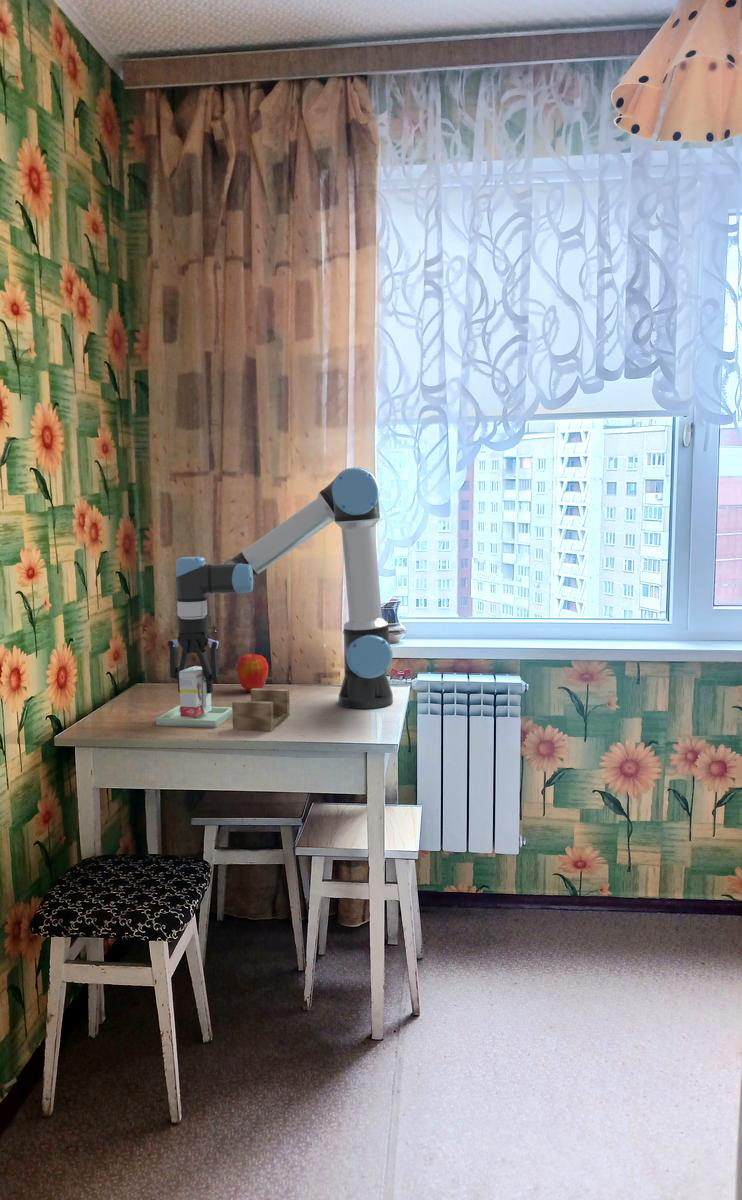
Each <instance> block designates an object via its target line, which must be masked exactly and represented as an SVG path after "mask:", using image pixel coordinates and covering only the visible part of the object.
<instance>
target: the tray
mask: <svg viewBox="0 0 742 1200" xmlns="http://www.w3.org/2000/svg"><path fill="white" fill-rule="evenodd" d="M211 708H212V710H211V711H209V712H207V713H205V714H203V715H201V716H199V717H197V718H196V717H181V716H180V704H179V705H177V706H175V707H173V708H172V709H169V710H168V711H167V712H165V713H163V714H162V715H159V716H158V717H156V718H155V720H156V721H155V722H156V723H155V724H156V726H166V727H186V728H187V727H188V728H190V727H191V728H209V729H211V728H212V729H213V728H214V729H216V728H217V727H219V726H221V724H222V725H223V723H224V722H226V721H227V720H229V719H230V718H233V714H232V706H231V707H228V706H211Z"/></svg>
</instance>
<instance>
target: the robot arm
mask: <svg viewBox="0 0 742 1200" xmlns="http://www.w3.org/2000/svg"><path fill="white" fill-rule="evenodd" d="M380 491H381V490H380V484H379V482H378V480H377V478H376V476H374V475H373V473H372V472H371V471H369V470H367V469H365V468H363V467H356V466H355V467H354V466H353V467H349V468H346V469H343V470H341V472H339V473H338V475H336V477H335V478H333V480H332V481H331V482H330V483H329V484H328V485H327V486H325V487H324V488H323V489H322V490H320V491H318V494H317V498H316V499H314V500H312V501H311V502H310V503H309V504H307V505H306V506H304V507H303V508H302V509H300V510H298V511H297V512H296V513H294V514H292V515H291V516H290V517H289V518H287V519H285V520H284V521H283V522H281V523H280V524H278V525H277V526H276V527H274V528H273V529H271V531H269V532H268V533H266V534H265V535H263V536H262V537H260V538H259V539H258V540H255V542H253V543H252V544H250V545H249V546H247V547H246V548H245V549H244V550H241V552H239V553H238V554H236V555H235V556H233V557H232V558H231V559H228V560H226V562H224V563H222V564H221V563H220V564H207V562H206V558H205V557H203V556H183V557H179V558H177V560H176V562H175V569H176V570H175V573H176V575H175V581H176V582H175V584H176V600H177V601H176V602H177V604H176V605H177V607H176V609H177V616H178V617H179V618H178V619H177V631H178V635H177V638H175V639H170V640H168V641H167V646H168V649H169V674H170V675H169V676H170V678H171V679H175V680H177V690H178V693H179V694H180V685H179V672H180V671H182V670H185V669H187V668H188V665H189V661H190V656H191V653H194V654H196V656H197V658H198V660H199V662H200V663H199V664H200V666H201V667H202V670H203V673H204V677H205V681H204V682H203V704H204V707H207V706H208V705H210V693H211V694H212V693H213V692H214V683H213V681H214V680H217V679H218V678H220V676H221V675H220V660H219V647H220V641H221V640H218V639H217V640H214V639H211V637H210V635H209V633H208V632H209V623H208V622H209V621H208V617H207V615H208V601H207V599H208V598H207V597H208V596H207V594H208V595H209V594H210V595H212V594H239V595H240V594H245V593H251V592H252V591H253V589H254V578H255V577H256V576H258V575H259V574H261V573H262V572H264V571H265V570H266V569H267V568H269V567H271V566H272V565H273V564H274V563H277V561H279V560H280V559H282V558H283V557H284V556H286V555H287V554H289V553H290V552H292V551H293V550H295V549H296V548H298V547H299V546H300V545H301V544H303V543H305V542H306V541H307V540H309V539H310V538H312V537H313V536H315V535H316V534H317V533H319V532H320V531H322V530H323V529H324V528H326V527H328V526H329V525H330V524H332V523H333V522H334V523H335V524H336V525H337V526H339V527H340V529H341V539H342V549H343V551H342V552H343V562H344V574H345V575H344V577H345V586H346V597H347V610H348V611H347V612H348V621H346V622H345V623H344V625H343V631H342V634H343V651H344V653H343V655H344V656H343V658H344V659H343V660H344V661H343V662H344V675H343V676H344V677H343V680H342V683H341V687H340V689H339V692H338V704H339V705H340V706H342V707H346V708H352V709H378V708H385V707H388V706H391V705H392V704H393V702H394V701H393V700H394V697H393V691H392V688H391V685H390V683H389V679H388V676H387V671H388V669H389V668H390V666H391V664H392V661H393V649H392V647H391V644H390V643H391V642H390V631H389V622H388V621H386V620H385V619H384V618H383V615H382V602H381V590H380V578H379V565H378V553H377V551H378V550H377V541H376V539H377V538H376V528H375V527H376V525H377V523H378V522H379V521H380V519H381V514H380V500H379V499H380ZM179 645H180V646H181V648H182V651H181V659H180V662H179V648H178V647H179ZM207 646H209V647H208V648H209V649H210V650H209V652H210V653H209V654H210V661H209V659H208V654H207V653H208V652H207V649H206V648H207Z"/></svg>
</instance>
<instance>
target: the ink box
mask: <svg viewBox="0 0 742 1200" xmlns="http://www.w3.org/2000/svg"><path fill="white" fill-rule="evenodd" d="M204 681H205V677H204V673H203V670H202V667H201V665H200V666H199V665H194V666H190V667H187V669H185V670H182V671H180V672H179V685H180V693H179V706H180V716H181V717H196V718H197V717H199V716H201V715H203V714H205V713H207V712H209V711H211V710H212V708H211V707H212V693H210V705H208V706H207V707H204V704H203V682H204Z"/></svg>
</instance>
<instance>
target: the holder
mask: <svg viewBox="0 0 742 1200" xmlns="http://www.w3.org/2000/svg"><path fill="white" fill-rule="evenodd" d="M290 704H291V702H290V689H283V688H281V689H280V688H262V689H259V688H253V689H251V692H250V700H237V699H236V700H233V701H232V702H231V708H232V714H233V716H232V731H255V732H272V731H273V730H275V729H276V728H277V727H278V726H279V725H281V723H283V722H284V721H285V720H286V719H288V718H289V717H290V716H291V715H290V713H291V710H290V709H291V708H290V707H291V706H290ZM274 718H276V719H275V720H274Z"/></svg>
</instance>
